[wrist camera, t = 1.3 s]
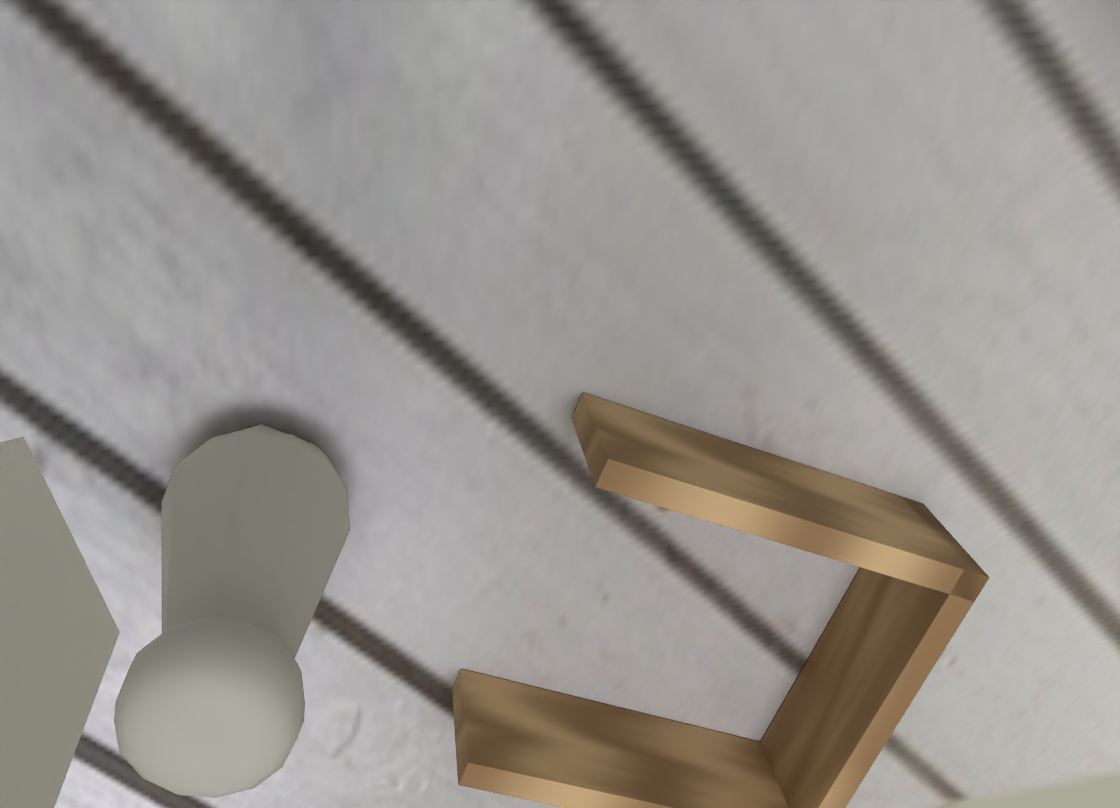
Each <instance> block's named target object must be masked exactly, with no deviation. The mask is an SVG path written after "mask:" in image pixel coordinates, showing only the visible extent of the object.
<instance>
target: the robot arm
mask: <svg viewBox="0 0 1120 808" xmlns="http://www.w3.org/2000/svg"><path fill="white" fill-rule="evenodd" d="M118 635H119V630H118V628H117V626H116V624H115V622H114V620H113V618H112V616H111V614H110V611H109V609H108V607H107V605H106V603H105V601H104V599H103V597H102V595H101V593H100V591H99V589H98V587H97V585H96V583H95V581H94V579H93V577H92V575H91V573H90V571H89V569H88V567H87V565H86V563H85V561H84V559H83V557H82V555H81V553H80V551H79V548H78V546H77V544H76V542H75V540H74V538H73V536H72V534H71V532H70V530H69V528H68V526H67V524H66V522H65V520H64V518H63V516H62V514H61V512H60V510H59V508H58V506H57V504H56V502H55V500H54V498H53V496H52V494H51V492H50V490H49V488H48V486H47V483H46V481H45V479H44V477H43V475H42V473H41V471H40V469H39V467H38V465H37V463H36V461H35V459H34V457H33V455H32V453H31V451H30V449H29V447H28V445H27V443H26V441H25V439H24V437H20V438H17V439H13V440H9V441H5V442H1V443H0V808H54V806H55V803H56V801H57V798H58V795H59V793H60V790H61V787H62V785H63V782H64V779H65V777H66V774H67V771H68V769H69V766H70V763H71V761H72V758H73V755H74V753H75V750H76V747H77V745H78V742H79V739H80V737H81V734H82V731H83V729H84V726H85V723H86V721H87V718H88V715H89V713H90V710H91V707H92V705H93V702H94V699H95V697H96V694H97V691H98V689H99V686H100V683H101V681H102V678H103V675H104V673H105V670H106V667H107V665H108V662H109V659H110V657H111V654H112V651H113V649H114V646H115V643H116V640H117V638H118Z"/></svg>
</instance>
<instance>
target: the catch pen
mask: <svg viewBox="0 0 1120 808" xmlns="http://www.w3.org/2000/svg"><path fill="white" fill-rule="evenodd" d="M572 420H573V423H574V426H575V429H576V432H577V435H578V438H579V441H580V444H581V447H582V450H583V452H584V455H585V458H586V461H587V464H588V467H589V470H590V473H591V476H592V479H593V482H594V485H595V487H597V488H600V489H604V490H607V491H610V492H613V493H617V494H620V495H623V496H627V497H630V498H633V499H637V500H640V501H643V502H647V503H650V504H653V505H656V506H660V507H663V508H666V509H670V510H673V511H676V512H680V513H683V514H686V515H689V516H693V517H696V518H699V519H703V520H706V521H709V522H713V523H716V524H719V525H723V526H726V527H729V528H732V529H736V530H739V531H742V532H746V533H749V534H752V535H756V536H759V537H762V538H765V539H769V540H772V541H775V542H779V543H782V544H785V545H789V546H792V547H795V548H798V549H802V550H805V551H808V552H812V553H815V554H818V555H822V556H825V557H828V558H832V559H835V560H838V561H841V562H845V563H848V564H851V565H855V566H858V567H861V568H860V569H859V571H858V573H857V575H856V576H855V578H854V580H853V582H852V583H851V585H850V587H849V589H848V590H847V592H846V594H845V596H844V597H843V599H842V601H841V603H840V604H839V606H838V608H837V610H836V611H835V613H834V615H833V616H832V618H831V620H830V622H829V623H828V625H827V627H826V629H825V630H824V632H823V634H822V636H821V637H820V639H819V641H818V643H817V644H816V646H815V648H814V650H813V651H812V653H811V655H810V657H809V658H808V660H807V662H806V663H805V665H804V667H803V669H802V670H801V672H800V674H799V676H798V677H797V679H796V681H795V683H794V684H793V686H792V688H791V690H790V691H789V693H788V695H787V697H786V698H785V700H784V702H783V704H782V705H781V707H780V709H779V710H778V712H777V714H776V716H775V717H774V719H773V721H772V723H771V724H770V726H769V728H768V730H767V731H766V733H765V735H764V737H763V738H762V740H761V742H758V741H754V740H750V739H746V738H742V737H738V736H734V735H729V734H725V733H721V732H717V731H713V730H709V729H705V728H701V727H697V726H693V725H688V724H684V723H680V722H676V721H672V720H668V719H664V718H660V717H656V716H652V715H648V714H643V713H639V712H635V711H631V710H627V709H623V708H619V707H615V706H611V705H607V704H602V703H598V702H594V701H590V700H586V699H582V698H578V697H574V696H570V695H566V694H562V693H557V692H553V691H549V690H545V689H541V688H537V687H533V686H529V685H525V684H521V683H516V682H512V681H508V680H504V679H500V678H496V677H492V676H488V675H484V674H480V673H476V672H471V671H467V670H463V669H461V671H460V673H459V675H458V677H457V680H456V682H455V684H454V687H453V689H452V695H453V710H454V726H455V742H456V757H457V773H458V785H461V786H465V787H470V788H475V789H479V790H484V791H489V792H493V793H498V794H503V795H507V796H512V797H517V798H522V799H526V800H531V801H536V802H540V803H545V804H550V805H554V806H559V807H564V808H845V807H846V806H847V804H848V803H849V801H850V799H851V798H852V796H853V795H854V793H855V791H856V790H857V788H858V787H859V785H860V783H861V782H862V780H863V779H864V777H865V775H866V774H867V772H868V771H869V769H870V767H871V766H872V764H873V763H874V761H875V759H876V758H877V756H878V755H879V753H880V752H881V750H882V748H883V747H884V745H885V744H886V742H887V740H888V739H889V737H890V736H891V734H892V732H893V731H894V729H895V728H896V726H897V724H898V723H899V721H900V720H901V718H902V716H903V715H904V713H905V712H906V710H907V708H908V707H909V705H910V704H911V702H912V700H913V699H914V697H915V696H916V694H917V692H918V691H919V689H920V688H921V686H922V684H923V683H924V681H925V680H926V678H927V676H928V675H929V673H930V672H931V670H932V668H933V667H934V665H935V664H936V662H937V660H938V659H939V657H940V656H941V654H942V652H943V651H944V649H945V648H946V646H947V644H948V643H949V641H950V640H951V638H952V636H953V635H954V633H955V632H956V630H957V628H958V627H959V625H960V624H961V622H962V620H963V619H964V617H965V616H966V614H967V612H968V611H969V609H970V608H971V606H972V604H973V603H974V601H975V600H976V598H977V596H978V595H979V593H980V592H981V590H982V588H983V587H984V585H985V584H986V582H987V580H988V579H989V577H988V575H987V574H986V573H985V572H984V571H983V570H982V569H981V568H980V567H979V565H978V564H977V563H976V562H975V561H974V560H973V559H972V558H971V556H970V555H969V554H968V553H967V552H966V551H965V550H964V549H963V548H962V546H961V545H960V544H959V543H958V542H957V541H956V540H955V539H954V538H953V536H952V535H951V534H950V533H949V532H948V531H947V530H946V529H945V527H944V526H943V525H942V524H941V523H940V522H939V521H938V520H937V519H936V517H935V516H934V515H933V514H932V513H931V512H930V511H929V510H928V509H927V507H926V506H925V505H924V504H922V503H919V502H916V501H913V500H910V499H907V498H904V497H900V496H897V495H894V494H891V493H888V492H885V491H882V490H879V489H876V488H873V487H870V486H867V485H864V484H861V483H858V482H855V481H852V480H849V479H845V478H842V477H839V476H836V475H833V474H830V473H827V472H824V471H821V470H818V469H815V468H812V467H809V466H806V465H803V464H800V463H797V462H794V461H790V460H787V459H784V458H781V457H778V456H775V455H772V454H769V453H766V452H763V451H760V450H757V449H754V448H751V447H748V446H745V445H742V444H739V443H735V442H732V441H729V440H726V439H723V438H720V437H717V436H714V435H711V434H708V433H705V432H702V431H699V430H696V429H693V428H690V427H687V426H684V425H680V424H677V423H674V422H671V421H668V420H665V419H662V418H659V417H656V416H653V415H650V414H647V413H644V412H641V411H638V410H635V409H632V408H629V407H625V406H622V405H619V404H616V403H613V402H610V401H607V400H604V399H601V398H598V397H595V396H592V395H589V394H586V393H582V396H581V398H580V400H579V402H578V405H577V407H576V409H575V412H574V414H573V416H572Z"/></svg>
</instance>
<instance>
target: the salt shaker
mask: <svg viewBox="0 0 1120 808" xmlns="http://www.w3.org/2000/svg"><path fill="white" fill-rule="evenodd" d="M349 531H350V521H349V507H348V494H347V488H346V485H345V484H344V482H343V481H342V479H341V478H340V476H339V474H338V473H337V471H336V470H335V468H334V467H333V465H332V463H331V462H330V460H329V459H328V457H327V456H326V455H325V454H324V453H323V452H322V451H321V450H320V449H319V448H318V447H317V446H316V445H315V444H314V443H311V442H308V441H306V440H303V439H300V438H298V437H296V436H294V435H292V434H287V433H284V432H281V431H279V430H276V429H273V428H271V427H268V426H265V425H263V424H260V425H257V426H254V427H251V428H247V429H243V430H239V431H236V432H232V433H228V434H224V435H220V436H216V437H213V438H211V439H209V440H208V441H207V442H205V443H204V444H203V445H201V446H200V447H199V448H198V449H196V450H195V451H194V452H192V453H191V454H190V455H188V456H187V457H186V458H185V459H183V460H182V461H181V462H180V463H179V464H178V465H177V466H176V467H175V468H174V471H173V474H172V476H171V479H170V482H169V484H168V487H167V489H166V492H165V495H164V497H163V500H162V634H161V635H160V636H158V637H157V638H156V639H155V640H153V641H152V642H151V643H149V644H148V645H147V646H145V647H144V648H143V649H142V650H140V651H139V652H138V653H137V654H136V656H135V658H134V660H133V662H132V664H131V666H130V668H129V670H128V673H127V675H126V678H125V680H124V683H123V685H122V688H121V690H120V693H119V695H118V697H117V700H116V705H115V716H114V723H115V729H116V735H117V740H118V746H119V752H120V753H121V754H122V755H123V757H124V758H125V759H126V760H127V761H128V762H129V763H130V764H131V765H132V767H133V768H134V769H135V770H136V771H137V772H138V773H139V774H140V776H141V777H142V778H144V779H146V780H148V781H150V782H152V783H154V784H156V785H158V786H161V787H163V788H165V789H167V790H169V791H171V792H173V793H175V794H178V795H187V796H200V797H213V798H214V797H220V796H224V795H228V794H232V793H236V792H240V791H244V790H249V789H253V788H255V787H256V786H258V785H259V784H260V783H262V782H263V781H264V780H266V779H267V778H268V777H270V776H271V775H272V774H274V773H275V772H276V771H278V770H279V769H280V768H282V766H283V764H284V763H285V761H286V759H287V757H288V755H289V753H290V751H291V749H292V747H293V745H294V743H295V741H296V739H297V737H298V734H299V732H300V729H301V727H302V724H303V722H304V710H305V700H304V691H303V682H302V674H301V670H300V668H299V665H298V664H297V662H296V661H295V656H296V654H297V652H298V649H299V647H300V645H301V642H302V640H303V638H304V635H305V633H306V631H307V628H308V626H309V624H310V621H311V619H312V617H313V614H314V612H315V610H316V607H317V605H318V603H319V601H320V598H321V596H322V594H323V591H324V589H325V587H326V584H327V582H328V580H329V577H330V575H331V573H332V570H333V568H334V566H335V563H336V561H337V559H338V556H339V554H340V552H341V549H342V547H343V545H344V542H345V540H346V538H347V535H348V533H349Z"/></svg>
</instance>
